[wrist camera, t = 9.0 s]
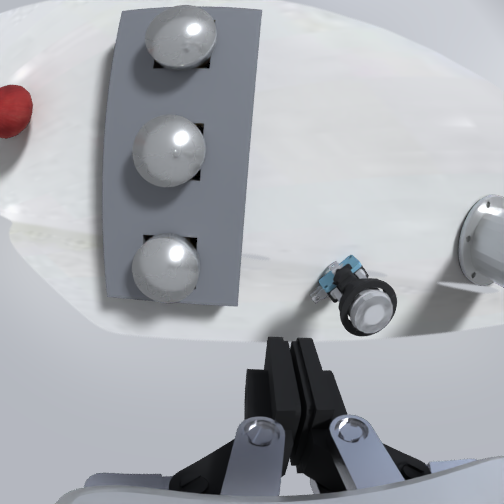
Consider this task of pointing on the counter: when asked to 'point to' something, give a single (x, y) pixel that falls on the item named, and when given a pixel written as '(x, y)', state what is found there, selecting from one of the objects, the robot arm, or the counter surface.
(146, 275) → the knob
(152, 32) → the knob
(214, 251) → the knob panel
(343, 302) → the push button
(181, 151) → the knob middle
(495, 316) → the counter surface
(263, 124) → the counter surface
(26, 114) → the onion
